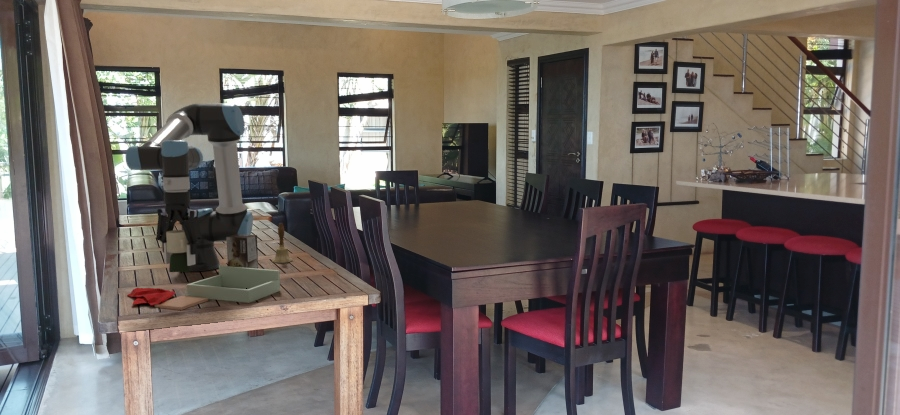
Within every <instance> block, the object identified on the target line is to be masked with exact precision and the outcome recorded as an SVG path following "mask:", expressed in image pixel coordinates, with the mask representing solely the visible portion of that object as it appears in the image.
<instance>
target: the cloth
mask: <svg viewBox="0 0 900 415" xmlns="http://www.w3.org/2000/svg"><path fill="white" fill-rule="evenodd" d="M175 294H176V292H175V291H174V290H171V291H170V290H169V289H167V290H166V289H163V288H158V287H157V288H153V287H145V288H144V287H136V288H133V289H132V291H131V292H130V293H129V294H126V296H127V297H131V298H136V299H135V300H134V301H133V302H132V305H134V306H136V305H139V304H140V305H142V304H149V305H150V306H155V305H156V304H159V303H162V302H164V301H167V300H170V298H172V297H173V296H175Z"/></svg>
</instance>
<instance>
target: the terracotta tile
mask: <svg viewBox="0 0 900 415" xmlns="http://www.w3.org/2000/svg"><path fill="white" fill-rule="evenodd" d="M208 301H209V299H208V298H202V297H192V296H187V295H180V296H177V297H174V298H171V299H170V298H169V299H167V300H165V301H164V302H162V303H159V304H156V305H154V307H155V308H161V309H168V310H169V309H172V310H179V311H183V310H185V309H188V308H191V307H194V306H197V305H200V304H202V303H205V302H208Z"/></svg>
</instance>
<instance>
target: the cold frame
mask: <svg viewBox="0 0 900 415" xmlns="http://www.w3.org/2000/svg"><path fill="white" fill-rule="evenodd" d="M280 272H281V271H280V270H279V269H278V270H277V269H267V268H266V269H265V268H258V269H255V268H243V267H230V266H228V265H220V266H219V268H218V274H217V275H214V276H211V277H207V278H204V279H200V280H197V281H194V282H191V283H187V284H186V296H192V297H202V298H208V300H218V301H226V302H237V303H246V304H247V303H248V304H249V303H252V302H255V301H257V300H259V299H262V298H263V299H264V298H265V297H268V296H270V295H273V294H275V293H277V292H280V291H281V277H280V276H281V275H280ZM246 288H247V289H246Z"/></svg>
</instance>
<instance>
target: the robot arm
mask: <svg viewBox="0 0 900 415" xmlns="http://www.w3.org/2000/svg"><path fill="white" fill-rule="evenodd" d="M242 112H243V111H242V110H241V109H240V107H239V106H238V105H237V104H235V103H226V102H224V103H220V102H219V103H192V104H189V105H185V106H183V107H181V108H179V109H177V110H175V111H174V112H173V113H172V114H170V115H169V116H168V117H167V119H166V121H165V124H163V126H162V127H160V129H159V130H158V129H157V130H158V131H156V132H155V133H154V134H153V135H152V136H151V137H150V138H149V139H148V140H146V141H145V143H143V144H142V145H141V146H140V145H136V146H135V145H133V146H130V147H129V146H128V148H127V149H126V152H125V163H126V165H127V167H128V168H129V169H130V170H133V171H162V179H163V180H162V181H163V182H162V184H163V187H162V188H163V190H164V192H163V203H164V204H165V208H164V207H163V208H158V209H157V210H156V212H157V225H156V226H157V227H156V241H159V242H161V244H162V245H161V246H162V253H163V256H164V265H167V264H169V265H170V257H171V255H172V253H169V252H167V238H166V232H167V231H172V230H174V228H175V225H176V223H177V222H179V225H181V230H184V232H185V235H186V237H187V240H188V244H187V266H191V271H189V272H206V271H212V270H216V269H219V266H221V265H220V260H219V258H218V254H217V252H216V251H217V250H216V249H215V242H216V243H217V242H223V243H225V242H226V243H227V240H226V237H228V236H232V235H235V234H244V235H252V231H253V227H254V226H253V225H254V215H253V213H252V212H251V211H249V210H248V207H247V205H246V204H244V202H243V196H242V188H241V187H242V186H241V176H240V165H239V156H238V154H239V153H238V145H237V144H238V143H239V141H240V140H241V136H242V135H244V133H245V130H246V129H245V119H244V115H243V113H242ZM190 136H207V142H208V143H209V144H211V145H212V147H213V158H214V159H213V160H214V166H215V167H214V168H215V177H216V186H217V188H216V189H217V194H218V195H217V196H218V203H219V204H218V206H217V207H216V208H215V211H214V209H213V207H210V208H208V207H207V208H205V207H204V208H199V209H191V207H190V203H191V192H190V191H189V190H190V189H191V184H190V171H194V170H195V169H197V168H199V167H200V166H201V165H202V163H203V162H204V161H203V160H204V155H203V153H202V151H201V150H200V149H199V147H196V146H192V145H189V143H188V142H187V140H184V139H187V138H189V137H190Z"/></svg>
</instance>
